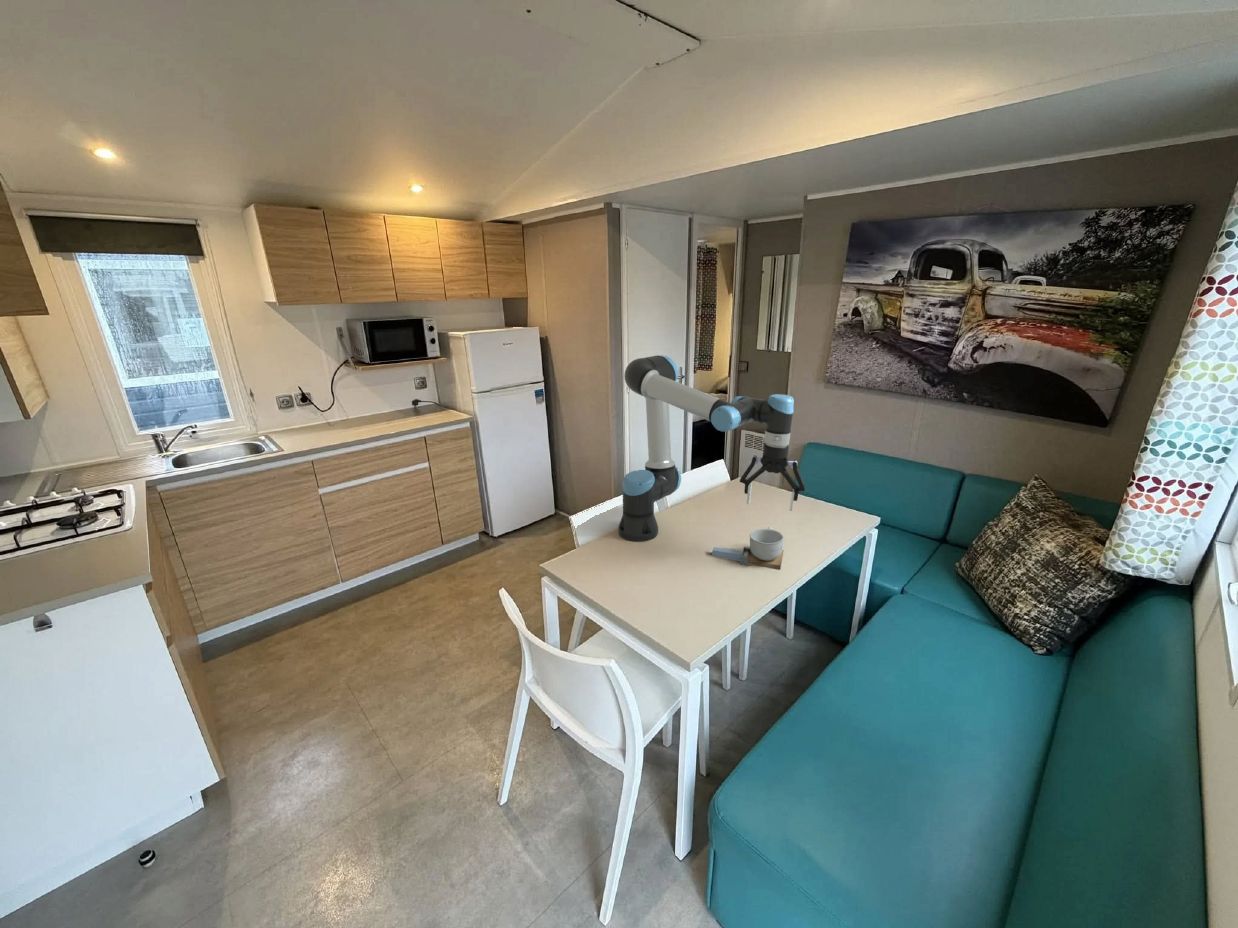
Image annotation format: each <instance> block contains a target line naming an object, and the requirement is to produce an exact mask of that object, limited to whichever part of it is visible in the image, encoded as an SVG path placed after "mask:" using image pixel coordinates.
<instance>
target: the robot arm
mask: <svg viewBox="0 0 1238 928" xmlns="http://www.w3.org/2000/svg"><path fill="white" fill-rule="evenodd" d="M678 376H679V370H678V366H677V364H676V362H675V361H674V360H673V359H672V358H671V357H669V356H667V355H658V354H657V355H652V356H646V357H639V358H636V359H634V360H632V361H630V362H629V364H628V365H627V366H626V367H625V371H624V376H623V377H624V382H625V384H626V386H627V387H628V388H629V389H630V391H632V392H634V393H635V394H637V395H640V396H642V397H644V399H645V409H646V411H645V412H646V429H647V430H646V431H647V432H646V434H647V453H648V454H647V455H648V460H647V461H646V462H645V464H644V469H638V470H632V471H630V472H628V473H626V474H625V475H624V476H623V479H622V487H621V490H622V515H621V518H620V520H619V525H618V535H619V536H620V537H621V538H622V539H624V540H627V541H631V542H645V541H646V542H647V541H650V540H653V539H655V538H657V536H658V535H659V525H658V522H657V519H656V516H655V511H654V510H655V503H656V502H657V501H659V500H661V499H663V498H665V497H669V496H671V495H672V494H674V493H675V492H676V491H678V489H679V488H680V485H681V483H682V475H681V472H680V470H679V468H678V467H677V466H676V462H675V461H674V460H673V459H672V456H671V455H672V453H671V450H672V448H671V430H670V429H671V427H670V425H671V424H670V423H671V421H670V406H673V407H675V408H677V409H680V410H683V411H685V412H687V413H690V414H692V415H695V416H696V417H699V418H701V419H703V420H706V421H708V422H711V425H713V427H714V428H715V429H716V430H717V431H720V432H729V431H732V430H734V429H738V427H741V426H744V425H747V424H748V423H755V424H757V423H758V424H761V425H765V430H764V438H763V439H764V440H763V441H764V444H763V450H762V457H760V456H759V457H758V456H757V455H755V454H754V455H753V456H752V459H751V462H750V464H749V465H748V466H747V468H746V469H745V471H744V472H743V474H742V475H741V476H740V479H739V483H742V484H744V494H745V495H747V497H746V504H747V505H749V504H750V503H751V494H752V487H753V481H755V480H756V479H758V477H759V476H760V475H762V474H764V472H767V473H774V474H777V475H778V474H781V475H782V476H783V477H784V478H785V480H786V481H787V483H788V484H789V485H790V487H791V489H792V490H791V497H790V505H789V511H791V512H792V511H793V507H794V502H797V501H798V500H799V499H798V498H799V492H805V490H806V485H805V482H804V480H803V478H802V475H801V472H800V470H799V467H798V460H797V459H794V460H788V455H789V448H790V447H789V445H790V440H791V431H792V425H793V424H792V421H793V417H794V416H793V415H794V404H795V400H794V397H793V396H791V395H788V394H780V393H776V394H771V395H769V397H768V399H761V398H756V397H750V396H746V395H745V396H740V395H739V396H734V398H733V399H732V400H731V402H728V401H726V400H724V399H721V398H719V397H716V396H713V395H711V394H708V393H706V392H703V391H702V390H701V391H700V390H699V389H696V388H693V387H691V386H689V385H685V384H684V383H681V382H677V380H678ZM759 462H760V463H761V467H760V468H759V469H757V471H755V472H754V473H753V474H751V475H750V477H748V476H749V474H750V472H751V471H752V470H753V468H754V466H755V465H757V464H759ZM788 466H789V467H790V468H791V469H792V470H793V473H794V476H795V479H796V481H797V483H796V481H795V480H794V479H793V477H792V476H791V474H790V473H789V472H788V469H787V467H788ZM747 477H748V478H747ZM746 478H747V479H746Z"/></svg>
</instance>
